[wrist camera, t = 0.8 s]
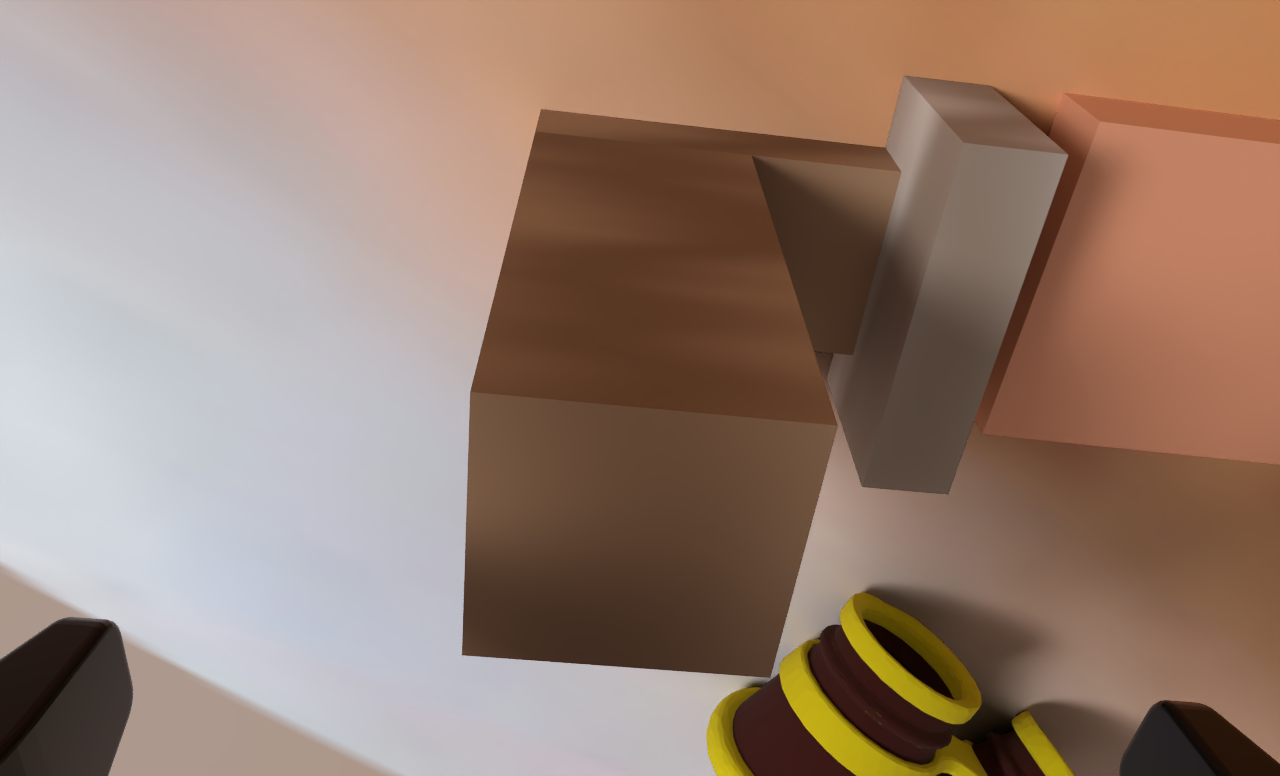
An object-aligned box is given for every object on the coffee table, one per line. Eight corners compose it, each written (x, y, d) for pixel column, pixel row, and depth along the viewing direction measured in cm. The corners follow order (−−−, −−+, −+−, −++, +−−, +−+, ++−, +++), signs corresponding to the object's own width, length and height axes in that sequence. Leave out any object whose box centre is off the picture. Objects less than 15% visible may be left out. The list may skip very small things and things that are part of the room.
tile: (1380, 127, 18) (1458, 166, 16) (1231, 407, 21) (1284, 464, 19) (1053, 86, 17) (1100, 121, 16) (953, 378, 20) (982, 434, 19)
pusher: (990, 85, 17) (1293, 352, 9) (900, 386, 20) (1069, 771, 12) (545, 33, 16) (473, 270, 9) (525, 350, 19) (460, 728, 12)
